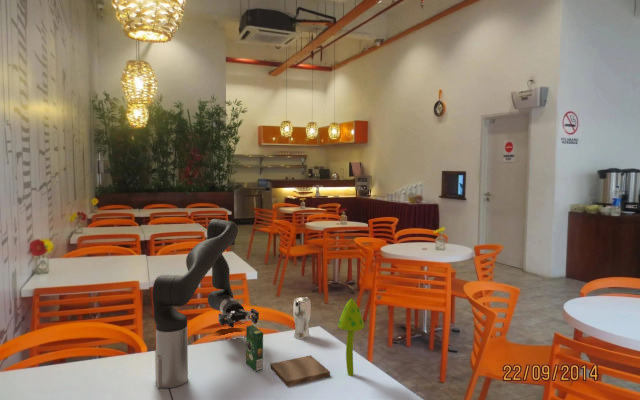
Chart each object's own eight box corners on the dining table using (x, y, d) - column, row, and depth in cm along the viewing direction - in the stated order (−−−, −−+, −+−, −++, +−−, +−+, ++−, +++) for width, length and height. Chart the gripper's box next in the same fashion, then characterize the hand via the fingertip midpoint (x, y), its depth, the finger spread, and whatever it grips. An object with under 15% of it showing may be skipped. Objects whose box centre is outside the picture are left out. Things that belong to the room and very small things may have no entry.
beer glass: (310, 339, 170) (310, 302, 169) (292, 339, 170) (292, 301, 169) (310, 333, 177) (311, 297, 176) (293, 333, 177) (294, 296, 176)
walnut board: (287, 386, 132) (287, 381, 132) (270, 368, 145) (270, 363, 145) (330, 376, 139) (330, 371, 139) (310, 359, 152) (310, 355, 152)
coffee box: (263, 370, 143) (263, 331, 142) (255, 373, 141) (255, 333, 140) (253, 361, 149) (253, 324, 149) (245, 363, 148) (245, 326, 147)
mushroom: (342, 382, 135) (343, 303, 134) (334, 370, 144) (335, 295, 142) (367, 378, 138) (368, 301, 136) (358, 367, 146) (359, 294, 144)
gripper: (213, 302, 166) (224, 315, 151) (249, 297, 172) (263, 309, 158) (213, 322, 166) (224, 336, 152) (249, 316, 173) (263, 329, 158)
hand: (244, 323), depth 155 cm, fingers open, 8 cm apart
